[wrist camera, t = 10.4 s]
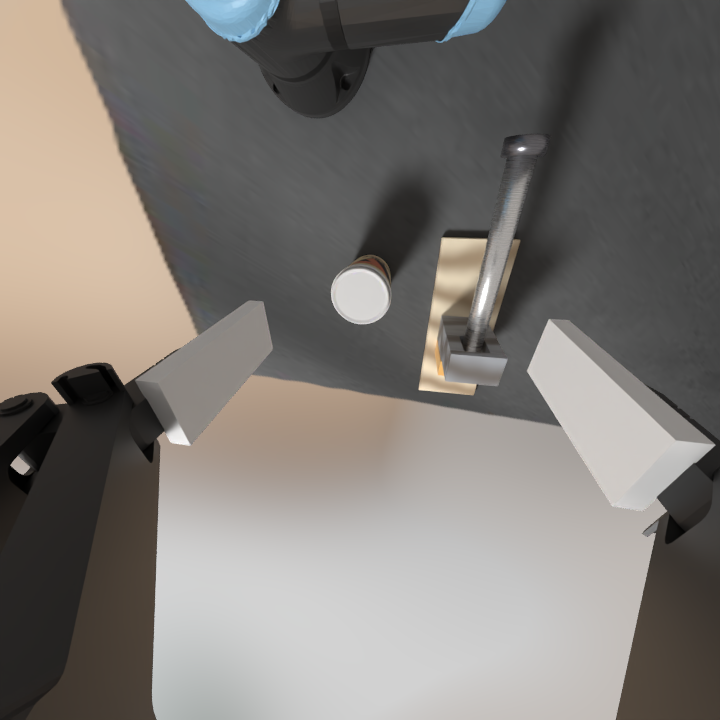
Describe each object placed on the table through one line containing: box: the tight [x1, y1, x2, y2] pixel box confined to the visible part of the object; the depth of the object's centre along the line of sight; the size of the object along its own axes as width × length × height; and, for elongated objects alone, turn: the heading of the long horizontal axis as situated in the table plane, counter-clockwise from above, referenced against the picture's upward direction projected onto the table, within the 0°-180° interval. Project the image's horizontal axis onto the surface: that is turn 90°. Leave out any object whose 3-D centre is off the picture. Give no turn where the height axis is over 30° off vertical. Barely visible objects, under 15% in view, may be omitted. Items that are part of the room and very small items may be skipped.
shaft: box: [462, 134, 551, 352], centre depth 36 cm, size 28×4×4 cm, turn 0°
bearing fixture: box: [419, 237, 521, 395], centre depth 46 cm, size 32×12×15 cm, turn 0°
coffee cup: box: [331, 255, 391, 324], centre depth 45 cm, size 9×9×12 cm
